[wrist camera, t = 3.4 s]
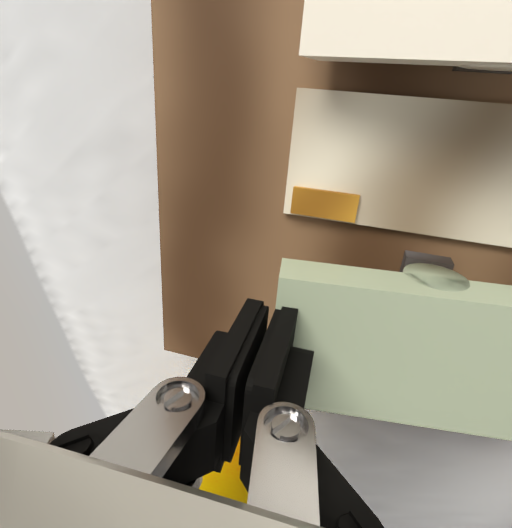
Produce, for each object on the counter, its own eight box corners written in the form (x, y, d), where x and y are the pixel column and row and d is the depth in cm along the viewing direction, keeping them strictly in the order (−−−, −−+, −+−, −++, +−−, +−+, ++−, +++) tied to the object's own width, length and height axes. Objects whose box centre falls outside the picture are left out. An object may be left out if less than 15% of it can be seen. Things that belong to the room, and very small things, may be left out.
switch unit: (787, -159, 11) (1051, -322, 7) (523, 383, 19) (565, 462, 15) (198, -129, 15) (130, -219, 10) (195, 311, 23) (157, 357, 19)
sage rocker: (580, 281, 13) (639, 322, 10) (524, 394, 15) (563, 448, 12) (284, 246, 13) (278, 277, 11) (271, 357, 16) (264, 402, 13)
